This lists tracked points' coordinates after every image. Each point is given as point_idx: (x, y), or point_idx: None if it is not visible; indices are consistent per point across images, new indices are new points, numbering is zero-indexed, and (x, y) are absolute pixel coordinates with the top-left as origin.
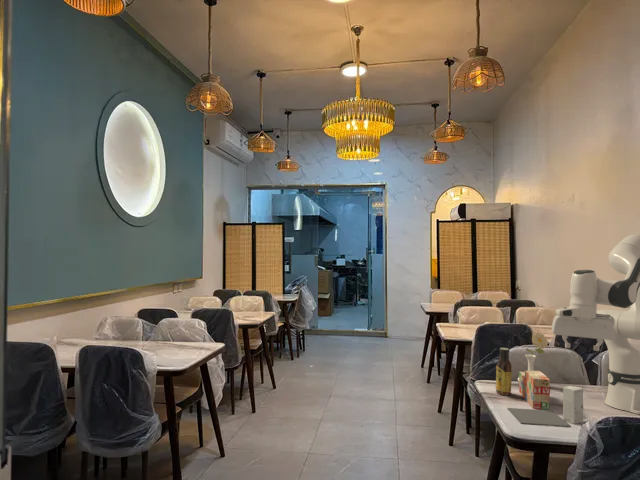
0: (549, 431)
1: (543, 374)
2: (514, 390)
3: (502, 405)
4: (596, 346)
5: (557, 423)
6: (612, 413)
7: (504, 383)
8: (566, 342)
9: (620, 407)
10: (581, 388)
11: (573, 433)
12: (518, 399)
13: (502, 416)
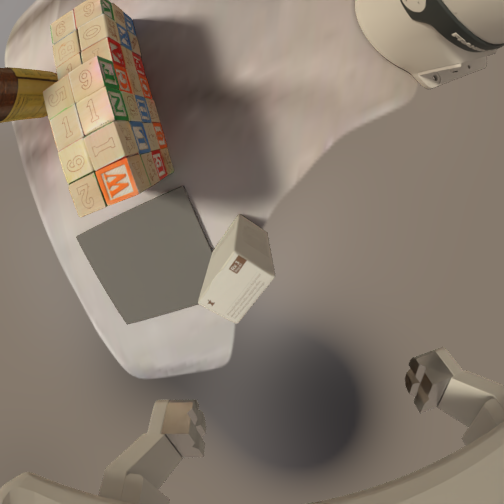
0: (185, 338)
1: (108, 112)
2: None
3: (62, 213)
4: (431, 406)
5: (198, 293)
6: (364, 103)
7: (29, 117)
8: (167, 463)
9: (393, 60)
10: (269, 281)
11: (234, 327)
12: None
13: (86, 296)
